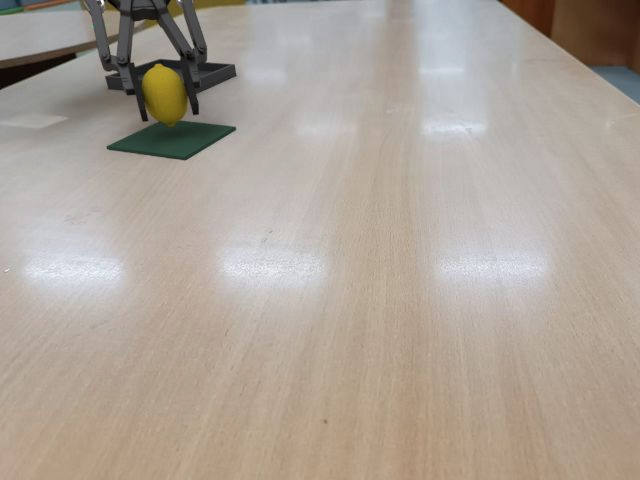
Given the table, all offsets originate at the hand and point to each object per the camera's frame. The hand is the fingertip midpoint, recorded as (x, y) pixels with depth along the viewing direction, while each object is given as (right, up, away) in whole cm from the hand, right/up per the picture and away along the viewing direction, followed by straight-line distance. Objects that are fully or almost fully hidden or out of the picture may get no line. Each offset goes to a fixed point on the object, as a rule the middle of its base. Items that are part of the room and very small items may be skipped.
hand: (170, 112), depth 64 cm
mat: (-1, -2, +5) cm, 6 cm away
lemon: (-1, -1, +5) cm, 5 cm away
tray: (-11, +15, +31) cm, 36 cm away
